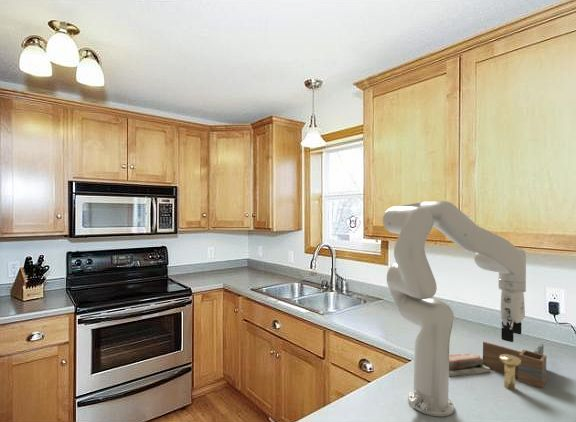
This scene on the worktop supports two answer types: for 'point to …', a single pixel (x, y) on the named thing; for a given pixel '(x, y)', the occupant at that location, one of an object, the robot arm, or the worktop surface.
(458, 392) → the worktop surface
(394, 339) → the worktop surface
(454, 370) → the packaged product
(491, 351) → the hinge
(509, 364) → the hinge pin
